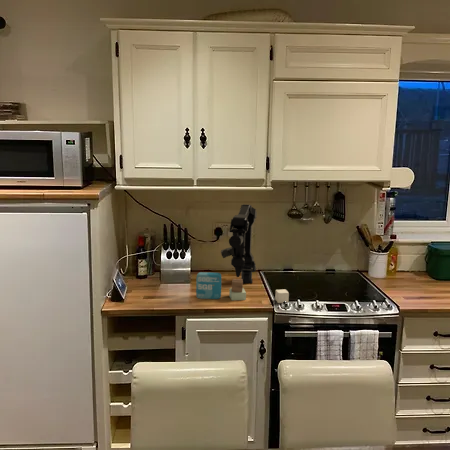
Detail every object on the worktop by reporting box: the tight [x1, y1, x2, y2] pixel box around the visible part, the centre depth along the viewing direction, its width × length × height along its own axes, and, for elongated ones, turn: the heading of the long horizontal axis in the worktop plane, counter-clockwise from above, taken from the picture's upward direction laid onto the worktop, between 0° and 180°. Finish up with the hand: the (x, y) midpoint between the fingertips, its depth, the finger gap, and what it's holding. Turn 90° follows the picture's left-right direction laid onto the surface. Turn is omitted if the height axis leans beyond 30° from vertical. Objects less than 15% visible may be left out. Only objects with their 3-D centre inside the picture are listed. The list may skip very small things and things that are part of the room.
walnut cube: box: [231, 278, 244, 292], centre depth 227 cm, size 5×5×5 cm
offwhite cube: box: [274, 288, 290, 304], centre depth 225 cm, size 5×5×5 cm
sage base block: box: [228, 287, 247, 301], centre depth 228 cm, size 7×7×4 cm
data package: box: [195, 271, 222, 300], centre depth 227 cm, size 12×4×12 cm, turn 89°
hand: (238, 274), depth 226 cm, fingers open, 9 cm apart
